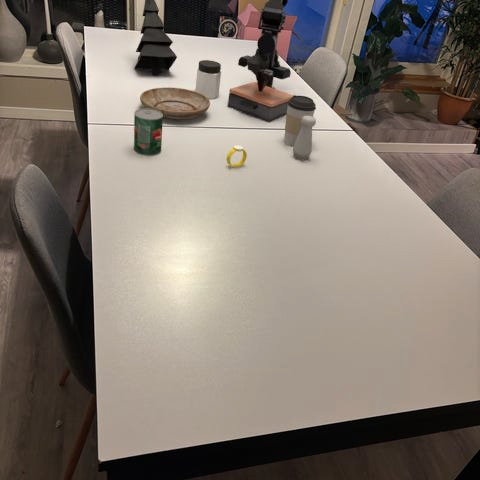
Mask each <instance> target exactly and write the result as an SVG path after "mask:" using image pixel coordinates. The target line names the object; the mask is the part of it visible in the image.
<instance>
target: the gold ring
mask: <svg viewBox="0 0 480 480" xmlns="http://www.w3.org/2000/svg"><path fill="white" fill-rule="evenodd" d="M236 152H242V158H241V160H240V161H239V162H238V163H232V162H231V158H232V156H233V155H234V153H236ZM247 156H248V155H247V152H246V149H244V147H243V146H242V145H239V144H237V145H234V146H233V148H231V150H230V151H229V152H228V153H227V155H226V162H227V164H228V165H229V166H230V167H232V168H236V167H242V166H243V165H244V164H245V162H246V160H247ZM231 163H232V164H231Z"/></svg>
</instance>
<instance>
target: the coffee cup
mask: <svg viewBox="0 0 480 480" xmlns="http://www.w3.org/2000/svg"><path fill="white" fill-rule="evenodd" d="M292 95H293V94H292ZM287 104H288V109H287V114H286V115H285V125H284V126H285V127H284V130H285V131H284V136H283V143H284V144H285V145H286V146H289V147H292V148H293V146H294V144H295V142H296V139H297V137H298V134H299V132H300V129H301V127H302V124H301V119H302V117H303V116H312V117H314V114H315V111H316V109H317V106H316V103H315V102H314V99H313V98H311V97H310V96H305V95H296V94H294V95H293V97H292V98H291V99H290V100H289V102H288V103H287Z"/></svg>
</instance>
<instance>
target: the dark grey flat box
mask: <svg viewBox="0 0 480 480" xmlns="http://www.w3.org/2000/svg"><path fill="white" fill-rule="evenodd" d="M227 100H228V101H227V108H230V109H232V108H233V110H236V111H238V112H240V111H241V113H243V114H246V115H248V116H251V117H254V118H255V119H259V120H261V121H264V122H266V123H271V122H272V121H275V120H277V119H280V118H281V117H283V116H286V114H287V109H288V104H287V103H288V102H289V101H287V102H285V103H282V104H279V105H277V106H274V107H268V106H266V105H263V104H260V103H258V102H255V101H252V100H249V99H247V98H244V97H241V96H238V95H236V94H233V93H230V92H228V99H227Z"/></svg>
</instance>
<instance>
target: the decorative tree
mask: <svg viewBox="0 0 480 480" xmlns="http://www.w3.org/2000/svg"><path fill="white" fill-rule="evenodd" d="M159 11H160V9H159V6H158V4H157V2H156V0H144V7H143V12H142V17H144V18H143V20H142V21H143V22H142V26H141V30H140V34H141V35H142V36H141V38H140V41H139V43H138V45H137V48H136V50H135V53H139V55H138V56H137V62H136V64H135V65H134V68H133V69H134V70H135V69H137V70H151V74H152V75H154V76H159V75H161V74H162V70H163V71H164V70H166V71H169V70H170V69H171V68H172V66H173V64H174V63H175V61H176V60H177V58H178V56H177V54H176V53H175V52H174V51H173V50H172V47H171V45H172V44H173V43H174V41H173V40H172V39H171V38H170V37H169V36H168V35H167V33H166V32H165V31H164V28H165V24H164V22H163V20H162V19H161V17H160V16H159V13H160V12H159Z"/></svg>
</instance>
